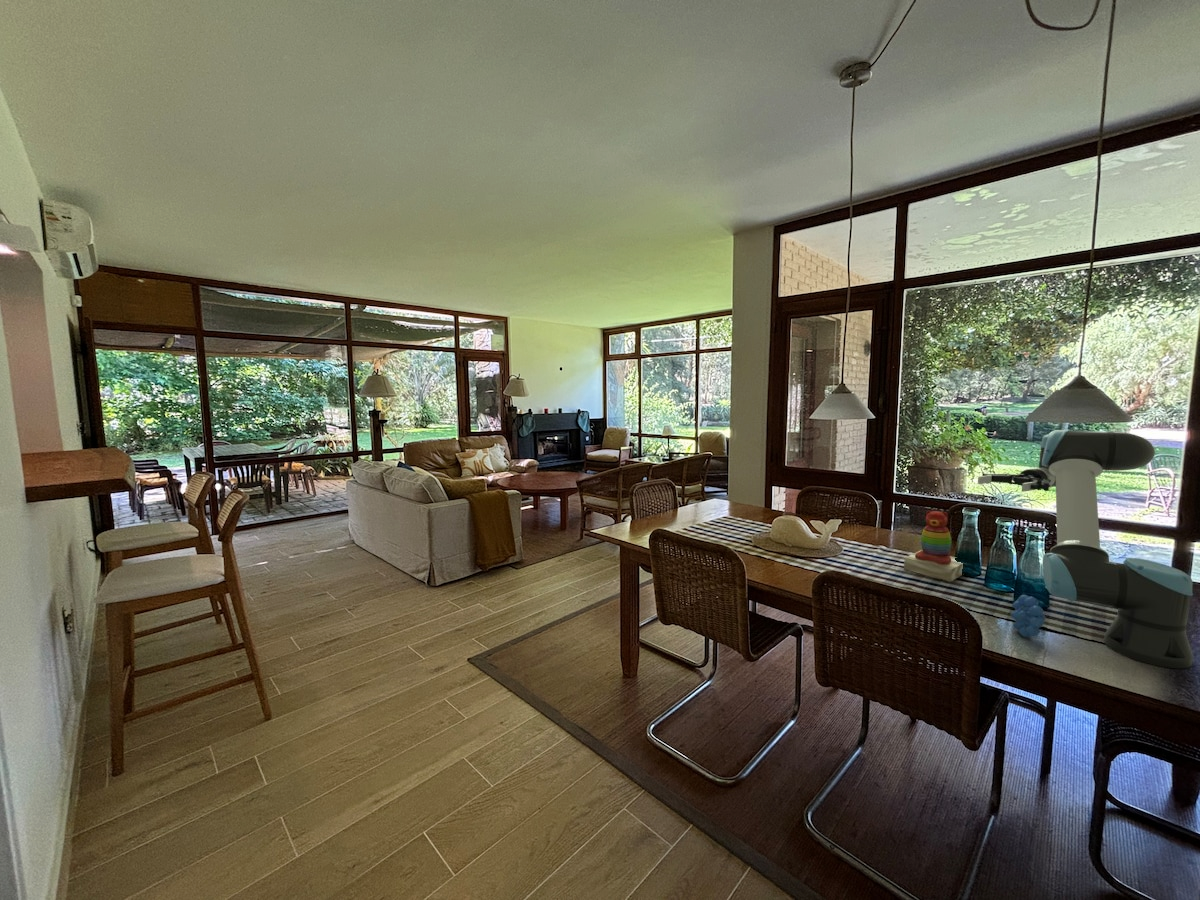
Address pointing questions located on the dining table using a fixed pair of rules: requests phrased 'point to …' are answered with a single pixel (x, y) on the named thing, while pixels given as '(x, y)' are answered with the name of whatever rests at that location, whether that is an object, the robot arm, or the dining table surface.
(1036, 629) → the grapes
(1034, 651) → the dining table surface
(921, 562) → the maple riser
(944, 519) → the stacking bear
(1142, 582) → the robot arm
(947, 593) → the dining table surface
